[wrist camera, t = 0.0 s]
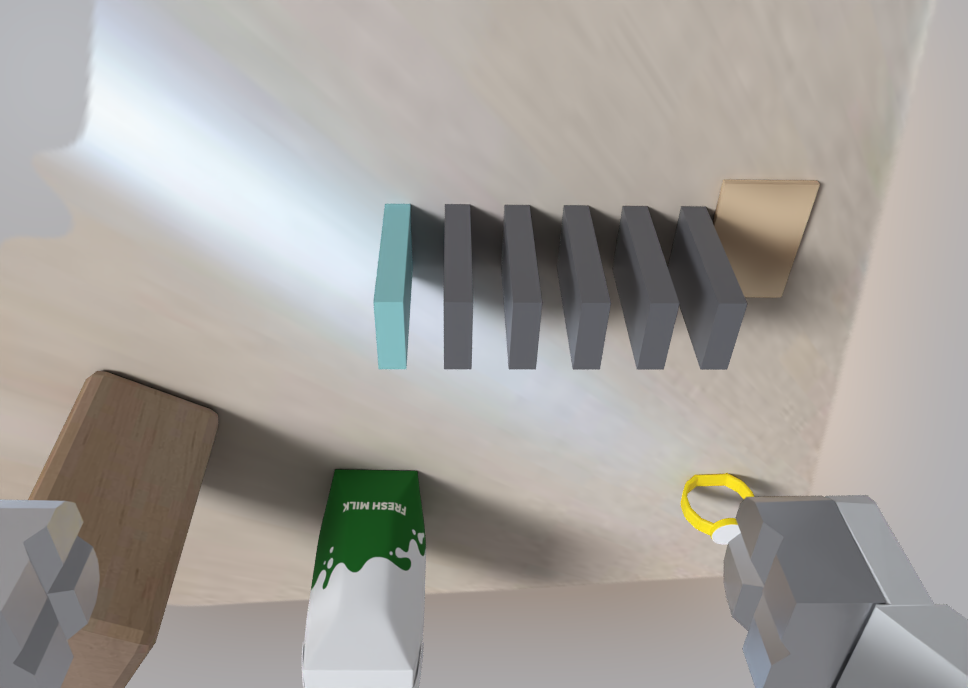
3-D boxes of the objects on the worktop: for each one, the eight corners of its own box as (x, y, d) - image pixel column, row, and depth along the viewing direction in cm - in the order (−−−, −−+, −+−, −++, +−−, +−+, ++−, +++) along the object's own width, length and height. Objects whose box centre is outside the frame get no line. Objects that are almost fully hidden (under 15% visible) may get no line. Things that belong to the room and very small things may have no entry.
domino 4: (556, 268, 56) (572, 369, 48) (563, 205, 52) (581, 303, 45) (580, 268, 56) (599, 369, 48) (588, 205, 52) (610, 303, 45)
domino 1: (388, 267, 55) (378, 369, 48) (385, 203, 52) (373, 302, 44) (412, 267, 55) (406, 369, 48) (410, 204, 52) (402, 302, 45)
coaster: (723, 179, 51) (725, 183, 51) (817, 180, 52) (819, 184, 51) (695, 292, 57) (696, 297, 57) (779, 293, 58) (781, 297, 57)
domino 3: (501, 268, 56) (508, 369, 48) (504, 204, 52) (513, 302, 45) (524, 268, 56) (535, 369, 48) (529, 204, 52) (542, 302, 45)
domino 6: (667, 269, 56) (700, 369, 49) (681, 206, 53) (718, 303, 45) (690, 269, 56) (727, 369, 49) (705, 206, 53) (747, 303, 45)
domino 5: (612, 268, 56) (636, 369, 48) (622, 205, 53) (650, 303, 45) (635, 269, 56) (663, 369, 48) (647, 206, 53) (679, 303, 45)
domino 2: (445, 267, 55) (444, 369, 48) (445, 204, 52) (443, 302, 45) (468, 268, 55) (471, 369, 48) (470, 204, 52) (473, 302, 45)
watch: (744, 464, 71) (769, 521, 66) (739, 484, 72) (762, 541, 68) (676, 470, 70) (697, 528, 66) (672, 491, 72) (692, 548, 68)
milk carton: (329, 525, 74) (298, 754, 59) (323, 459, 68) (286, 696, 53) (426, 526, 75) (420, 754, 60) (428, 462, 69) (422, 697, 54)
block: (225, 408, 64) (156, 650, 49) (184, 480, 69) (110, 716, 54) (94, 361, 60) (-25, 607, 45) (61, 440, 66) (-55, 682, 51)
